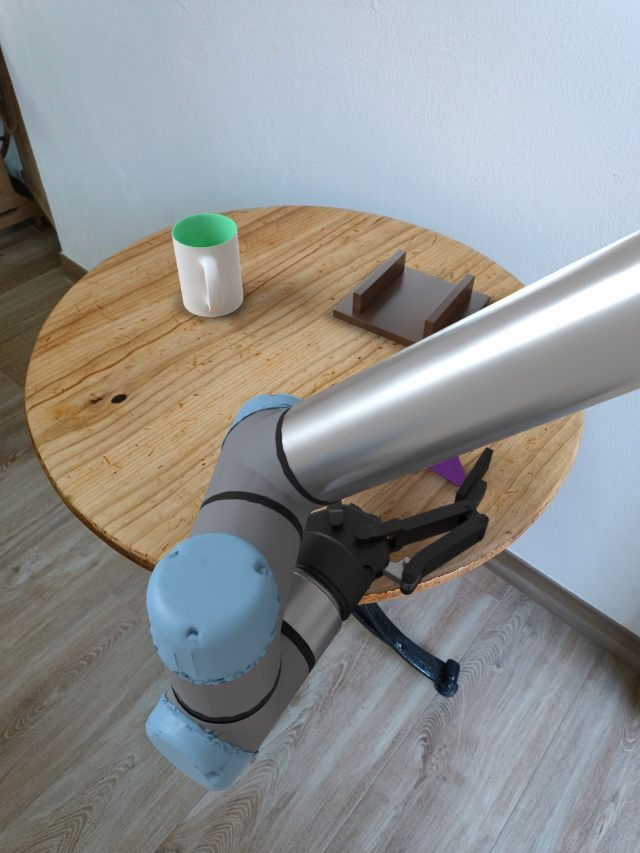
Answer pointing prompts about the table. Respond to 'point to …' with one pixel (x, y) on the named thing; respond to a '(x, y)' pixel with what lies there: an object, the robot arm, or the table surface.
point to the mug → (208, 264)
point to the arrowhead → (450, 470)
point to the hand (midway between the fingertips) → (429, 431)
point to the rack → (408, 302)
